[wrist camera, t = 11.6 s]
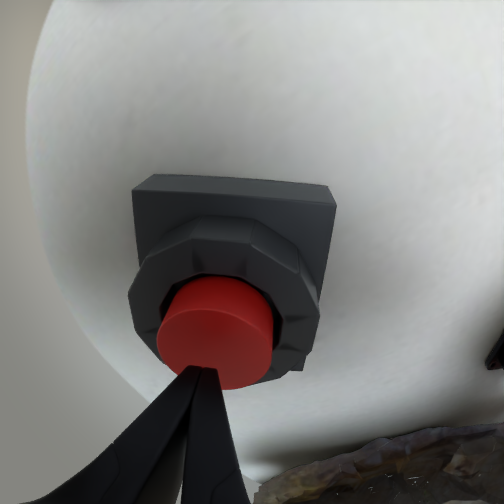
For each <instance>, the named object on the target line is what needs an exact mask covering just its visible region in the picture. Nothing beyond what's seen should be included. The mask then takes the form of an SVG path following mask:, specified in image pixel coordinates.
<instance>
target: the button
mask: <svg viewBox="0 0 504 504" xmlns="http://www.w3.org/2000/svg"><path fill="white" fill-rule="evenodd" d="M273 323H274V319H273V313H272V310H271V308H270V306H269V304H268V302H267V301H266V299H265V298H264V297H263V296H262V295H261V294H260V293H259V292H258V291H257V290H256V289H254V288H253V287H251V286H250V285H248V284H246V283H244V282H242V281H240V280H237V279H234V278H230V277H224V276H206V277H201V278H198V279H195V280H192V281H190V282H188V283H187V284H185V285H184V286H182V287H181V288H180V289H179V290H178V292H177V293H176V294H175V296H174V298H173V300H172V302H171V305H170V307H169V309H168V311H167V313H166V315H165V317H164V320H163V322H162V324H161V326H160V328H159V330H158V334H157V347H158V351H159V353H160V356H161V358H162V359H163V361H164V362H165V363H166V365H167V366H168V367H169V368H170V369H171V370H172V371H173V372H175V373H176V374H177V375H179V374H180V373H181V372H182V371H183V370H184V369H185V368H186V367H187V366H188V365H195V366H201V367H202V368H204V367H210V368H216V369H217V370H218V375H219V379H220V384H221V389H222V390H231V389H238V388H243V387H246V386H249V385H251V384H253V383H255V382H257V381H258V380H259V379H261V378H262V377H263V376H264V375H265V374H266V372H267V371H268V369H269V367H270V365H271V361H272V344H273Z"/></svg>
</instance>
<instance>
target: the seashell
mask: <svg viewBox="0 0 504 504" xmlns="http://www.w3.org/2000/svg"><path fill="white" fill-rule="evenodd" d="M391 439H393V438H390V439H386V438H377V439H376V440H374V441H372V442H370V443H368V444H367V445H365V446H364V447H362V448H361V449H359V450H357V451H354V452H352V453H349V454H347V453H343V454H340V455H338V456H335V457H332V458H329V459H326V460H323V461H314V462H313V463H312V464H307V465H302V466H298V467H295V468H293V469H290V470H288V471H286V472H284V473H283V474H281V475H278V476H276V477H274V478H272V479H271V480H270V481H268V482H266V483H264V484H263V485H261V486H260V487H259V492H256V493H254V502H253V504H497V503H498V504H504V422H503V423H497V424H481V425H474V426H466V427H460V428H449V427H446V426H445V427H443V428H441V427H437V428H435V429H433V428H430V427H429V428H426V429H423V430H420V431H417V432H414V433H411V434H407V435H403V436H398V437H395V438H394V439H393V440H391ZM386 443H387V444H386ZM383 445H384V446H383ZM493 449H494V450H493ZM377 450H378V451H377ZM341 464H342V465H341ZM339 465H340V466H339ZM491 465H492V466H491ZM340 470H341V472H340ZM490 470H491V471H490ZM385 474H386V475H385ZM455 474H456V475H455ZM480 474H481V475H480ZM391 475H393V476H391ZM479 475H480V476H479ZM388 476H391V477H388ZM423 476H424V477H423ZM414 477H418V478H414ZM409 478H411V479H409ZM415 481H416V482H415ZM427 482H428V483H427ZM412 484H413V485H412ZM370 487H372V488H370ZM371 489H372V490H371ZM434 489H435V490H434ZM270 491H271V492H270ZM374 492H375V493H374ZM337 493H338V495H337ZM408 493H409V494H408ZM424 494H425V495H424ZM394 498H395V499H394ZM423 500H424V501H425V502H423ZM419 501H420V502H419ZM427 501H429V502H427Z"/></svg>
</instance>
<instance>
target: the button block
mask: <svg viewBox="0 0 504 504" xmlns="http://www.w3.org/2000/svg"><path fill="white" fill-rule="evenodd" d="M132 202H133V214H134V224H135V234H136V243H137V251H138V259H139V266H140V269H139V271H138V273H137V275H136V277H135V279H134V281H133V283H132V285H131V287H130V289H129V292H128V299H129V304H130V309H131V314H132V319H133V323H134V328H135V331H136V333H137V334H138V335H139V337H140V338H141V339H142V340H143V341H144V343H145V344H146V345H147V346H148V347H149V348H150V350H151V351H152V352H153V353H154V354H155V355H156V356H157V358H158V359H159V360H160V361H161V362H162V363H163V364H165V365H166V363H165V362H164V361H163V359H162V358H161V356H160V353H159V351H158V347H157V334H158V330H159V328H160V326H161V324H162V322H163V320H164V317H165V315H166V313H167V311H168V309H169V307H170V305H171V302H172V300H173V298H174V296H175V294H176V293H177V292H178V290H179V289H180V288H181V287H182V286H184V285H185V284H187V283H188V282H190V281H192V280H195V279H198V278H201V277H206V276H224V277H230V278H234V279H237V280H240V281H242V282H244V283H246V284H248V285H250V286H251V287H253V288H254V289H256V290H257V291H258V292H259V293H260V294H261V295H262V296H263V297H264V298H265V299H266V301H267V302H268V304H269V306H270V308H271V310H272V313H273V319H274V323H273V344H272V361H271V365H270V367H269V369H268V371H267V372H266V374H265V375H264V376H263V377H262V378H261V379H259V380H258V381H257V382H255V383H253V384H251V385H254V384H258V383H262V382H266V381H270V380H274V379H278V378H281V376H283V375H285V374H286V373H287V372H288V371H303V367H304V363H305V359H306V356H307V355H308V354H309V353H310V352H311V351H312V347H313V343H314V339H315V335H316V331H317V327H318V322H319V318H320V312H319V305H318V303H319V298H320V294H321V289H322V284H323V279H324V274H325V269H326V264H327V259H328V253H329V248H330V242H331V237H332V231H333V225H334V219H335V213H336V207H337V205H336V202H335V200H334V198H333V196H332V194H331V192H330V190H329V188H328V186H322V185H313V184H303V183H293V182H282V181H271V180H259V179H245V178H230V177H213V176H193V175H165V174H153V175H152V176H151V177H149V178H148V179H146V180H145V181H143V182H142V183H141V184H139V185H138V186H137V187H135V188H134V189H132ZM249 386H250V385H249Z"/></svg>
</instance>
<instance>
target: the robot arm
mask: <svg viewBox="0 0 504 504" xmlns="http://www.w3.org/2000/svg"><path fill="white" fill-rule="evenodd" d="M485 365H486V367H487V369H488V370H494V369H501V368H503V370H504V333H503V334H502V336H501V338H500V340H499V341H498V343H497V345H496V346H495V348H494V350H493V351H492V353H491V355H490V356H489V358H488V359H487V361H486V363H485ZM113 443H114V444H113ZM113 443H111V444H110V445H109V446H108V447H107V448H106V449H105V450H104V451H103V452H102V453H101V454H100V455H99V456H98V457H97V458H96V459H95V460H94V461H92V462H91V463H90V464H89V465H87V466H86V467H85V468H84V469H82V470H81V471H80V472H78V473H77V474H76V475H74V476H73V477H72V478H70V479H69V480H67V481H66V482H65V483H63V484H62V485H61V486H59V487H58V488H56V489H55V490H53V491H52V492H50V493H49V494H47V495H46V496H44V497H42V498H40V499H37V500H34V501H31V502H26V503H21V504H175V503H176V500H177V497H178V493H179V490H180V487H181V484H182V495H181V504H251V503H250V501H249V498H248V495H247V492H246V489H245V486H244V482H243V478H242V474H241V470H240V469H239V463H238V459H237V455H236V451H235V447H234V442H233V438H232V434H231V430H230V425H229V421H228V417H227V412H226V408H225V403H224V398H223V394H222V389H221V384H220V379H219V375H218V370H217V369H216V368H210V367H204V368H202V367H201V366H195V365H188V366H187V367H186V368H185V369H184V370H183V371H182V372H181V373H180V374H179V375H178V376H177V377H176V378H175V379H174V380H173V381H172V382H171V383H170V384H169V385H168V387H167V388H166V389H165V390H164V391H163V392H162V393H161V394H160V395H159V396H158V397H157V398H156V399H155V400H154V401H153V402H152V403H151V404H150V405H149V406H148V407H147V408H146V409H145V410H144V411H143V412H142V413H141V414H140V415H139V416H138V417H137V418H136V420H134V421H133V422H132V423H131V424H130V425H129V426H128V428H126V429H125V430H124V431H123V432H122V433H121V435H119V437H117V438H116V439H115V440H114V442H113ZM182 481H183V483H182Z"/></svg>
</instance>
